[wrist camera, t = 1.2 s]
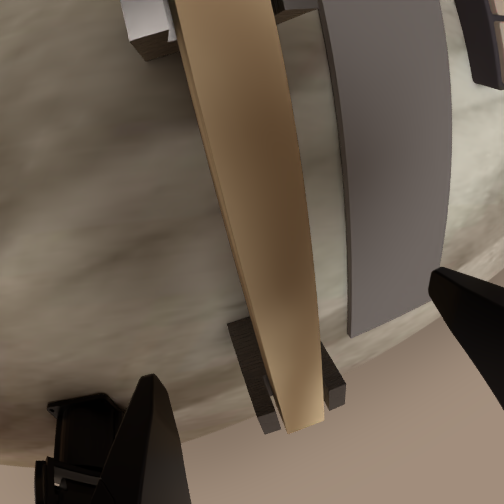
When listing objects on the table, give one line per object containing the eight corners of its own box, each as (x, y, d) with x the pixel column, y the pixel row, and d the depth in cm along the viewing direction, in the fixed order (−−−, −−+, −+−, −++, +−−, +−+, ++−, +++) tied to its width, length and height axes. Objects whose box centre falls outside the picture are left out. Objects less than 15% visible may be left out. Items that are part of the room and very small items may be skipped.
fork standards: (235, 346, 23) (264, 434, 16) (135, 17, 11) (113, -35, 5) (299, 324, 23) (344, 404, 17) (239, -6, 12) (301, -62, 5)
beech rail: (275, 404, 19) (287, 434, 17) (156, -51, 6) (156, -82, 4) (310, 391, 20) (324, 420, 18) (228, -63, 7) (246, -92, 5)
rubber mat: (347, 333, 25) (350, 338, 25) (301, -60, 10) (305, -63, 10) (429, 295, 27) (432, 299, 26) (423, -40, 11) (429, -41, 11)
